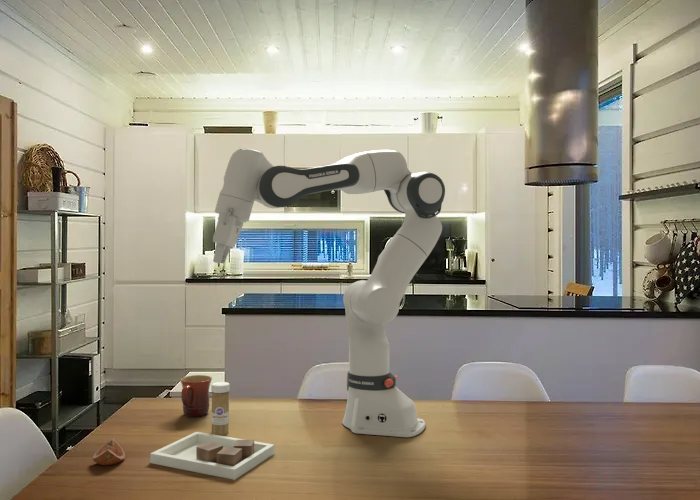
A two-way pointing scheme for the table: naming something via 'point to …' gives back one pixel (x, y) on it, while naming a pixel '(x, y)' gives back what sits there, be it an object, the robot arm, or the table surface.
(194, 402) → the mug
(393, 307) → the robot arm
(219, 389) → the sprinkles bottle
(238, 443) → the cube
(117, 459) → the fruit slice
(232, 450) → the cube
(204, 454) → the cube
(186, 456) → the tray
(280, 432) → the table surface
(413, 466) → the table surface
